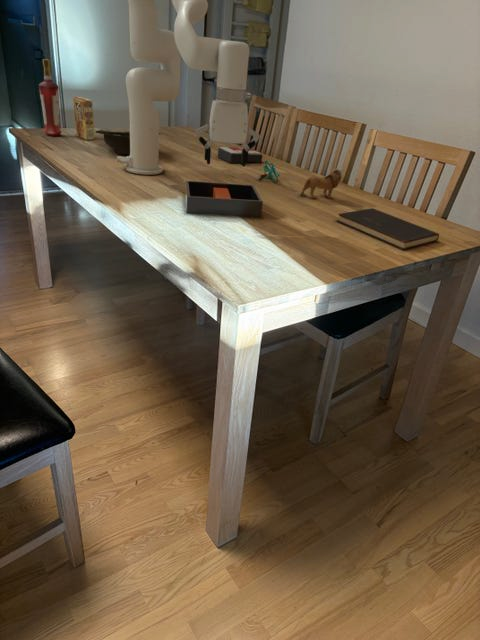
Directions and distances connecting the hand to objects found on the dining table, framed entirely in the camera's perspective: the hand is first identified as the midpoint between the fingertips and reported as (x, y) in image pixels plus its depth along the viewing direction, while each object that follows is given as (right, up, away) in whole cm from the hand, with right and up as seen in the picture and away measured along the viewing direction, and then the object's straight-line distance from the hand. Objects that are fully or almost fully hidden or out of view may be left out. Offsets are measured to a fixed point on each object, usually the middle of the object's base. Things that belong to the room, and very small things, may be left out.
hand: (225, 164), depth 131 cm
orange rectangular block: (-1, -10, +6) cm, 12 cm away
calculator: (+4, +23, +64) cm, 68 cm away
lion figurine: (+30, -2, +27) cm, 41 cm away
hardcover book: (+45, -18, +3) cm, 49 cm away
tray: (-1, -10, +6) cm, 12 cm away
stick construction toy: (+13, +8, +40) cm, 43 cm away
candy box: (-62, +34, +71) cm, 100 cm away
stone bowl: (-41, +24, +58) cm, 75 cm away
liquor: (-75, +35, +69) cm, 107 cm away
